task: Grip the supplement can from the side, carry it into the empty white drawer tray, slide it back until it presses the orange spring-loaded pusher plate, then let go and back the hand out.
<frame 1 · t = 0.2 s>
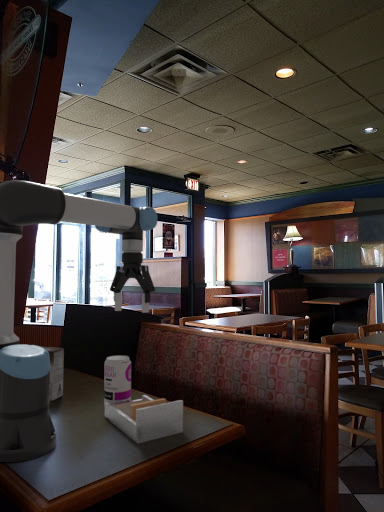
hand: (131, 311, 142), 28 cm above the table, tool pointing down, fingers open, 13 cm apart
coffee box: (46, 397, 133), on the table
pusher plate: (148, 412, 106), point 4 cm above the table, slide at 0.0 cm
white drawer tray: (141, 423, 110), on the table
supplement can: (117, 407, 124), on the table
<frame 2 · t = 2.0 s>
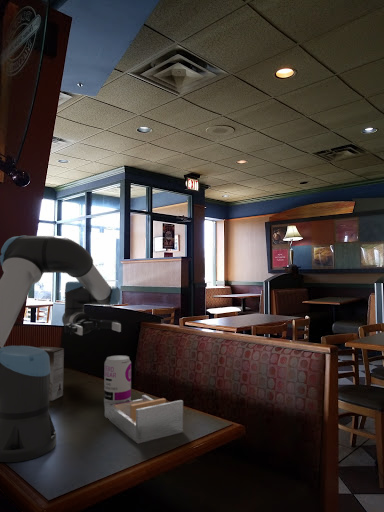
hand: (101, 329, 136), 22 cm above the table, tool horizontal, fingers open, 13 cm apart
nothing on the table moved.
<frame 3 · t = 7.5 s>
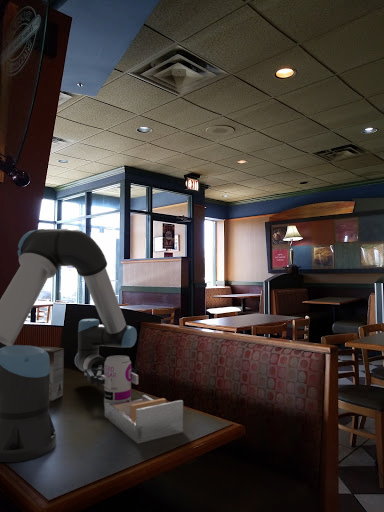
hand: (123, 382, 120), 9 cm above the table, tool horizontal, fingers closed on supplement can, 8 cm apart
supplement can: (117, 407, 124), on the table, touching gripper
everything else where it was.
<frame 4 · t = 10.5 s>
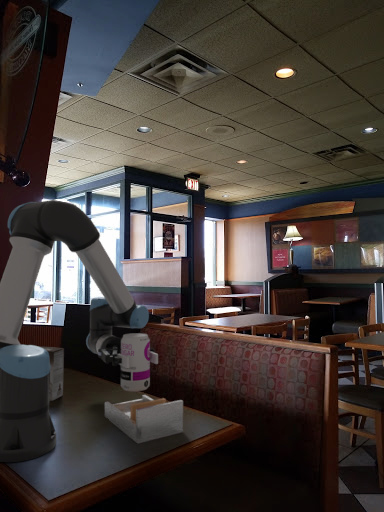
hand: (142, 360, 110), 17 cm above the table, tool horizontal, fingers closed on supplement can, 8 cm apart
supplement can: (135, 388, 114), point 8 cm above the table, touching gripper
everything else where it was.
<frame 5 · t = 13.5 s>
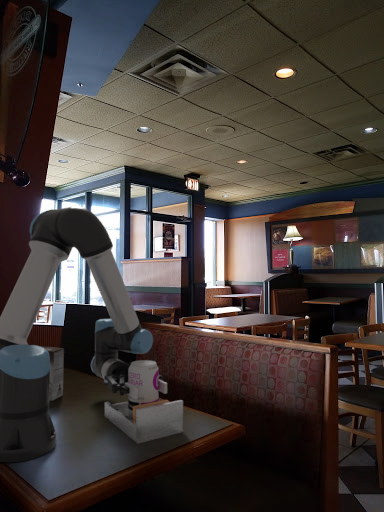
hand: (151, 391, 105), 10 cm above the table, tool horizontal, fingers closed on supplement can, 8 cm apart
pusher plate: (151, 414, 105), point 4 cm above the table, slide at 1.6 cm, touching supplement can
supplement can: (143, 419, 109), point 2 cm above the table, touching gripper, pusher plate
everything else where it was.
when the fingers open (10 cm above the table, at t = 13.8 s): supplement can stays where it is, resting on white drawer tray.
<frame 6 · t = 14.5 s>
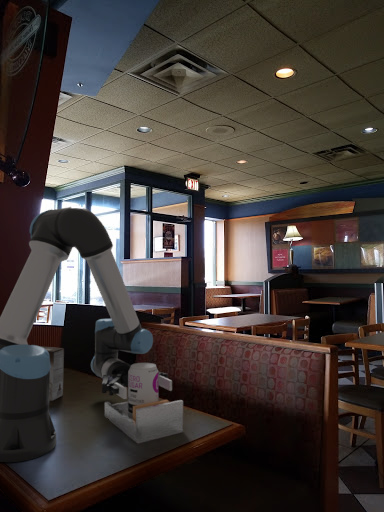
hand: (148, 389, 107), 10 cm above the table, tool horizontal, fingers open, 13 cm apart
pusher plate: (151, 414, 105), point 4 cm above the table, slide at 1.5 cm
supplement can: (143, 421, 109), point 1 cm above the table, touching white drawer tray
everything else where it was.
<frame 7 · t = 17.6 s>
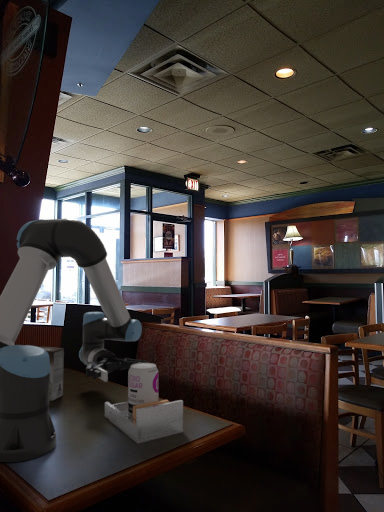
hand: (128, 373, 118), 12 cm above the table, tool horizontal, fingers open, 13 cm apart
pusher plate: (151, 414, 105), point 4 cm above the table, slide at 1.5 cm, touching supplement can
supplement can: (143, 421, 109), point 1 cm above the table, touching white drawer tray, pusher plate
everything else where it was.
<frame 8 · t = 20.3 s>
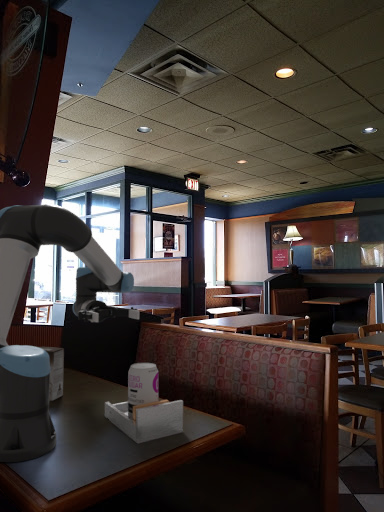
hand: (118, 316, 124), 28 cm above the table, tool horizontal, fingers open, 13 cm apart
pusher plate: (151, 414, 105), point 4 cm above the table, slide at 1.5 cm
supplement can: (143, 421, 109), point 1 cm above the table, touching white drawer tray
everything else where it was.
at the end: supplement can inside the target area on the white drawer tray (2.9 cm from its centre), point 0.8 cm above the white drawer tray's base; supplement can tilted 0°; pusher plate slide at 1.5 cm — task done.
